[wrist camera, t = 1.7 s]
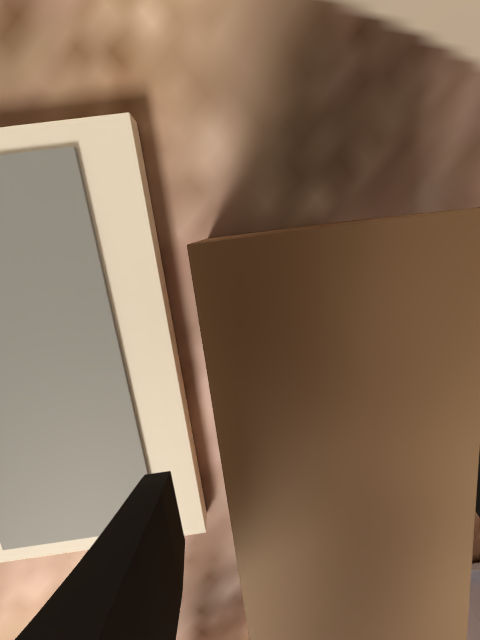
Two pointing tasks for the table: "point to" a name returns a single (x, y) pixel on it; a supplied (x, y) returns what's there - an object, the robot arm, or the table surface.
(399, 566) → the brown slab
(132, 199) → the tan rimmed flat piece
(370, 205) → the table surface
